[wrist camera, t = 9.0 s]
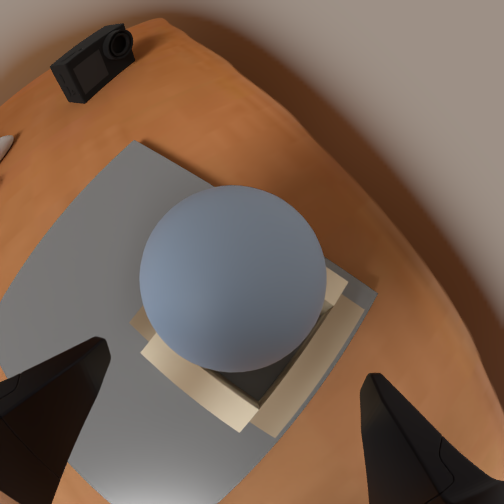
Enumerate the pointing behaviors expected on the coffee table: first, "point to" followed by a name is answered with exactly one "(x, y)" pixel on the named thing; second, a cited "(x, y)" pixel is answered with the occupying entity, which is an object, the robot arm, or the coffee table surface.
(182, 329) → the blue-domed white cylinder
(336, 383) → the coffee table surface
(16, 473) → the robot arm
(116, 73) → the digital camera
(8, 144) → the toy airplane
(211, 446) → the jig board
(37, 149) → the coffee table surface
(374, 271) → the coffee table surface
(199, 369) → the cradle
